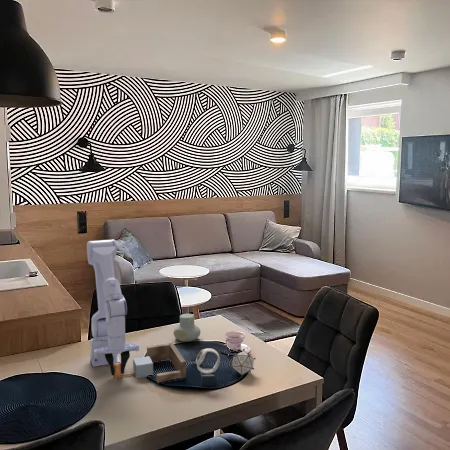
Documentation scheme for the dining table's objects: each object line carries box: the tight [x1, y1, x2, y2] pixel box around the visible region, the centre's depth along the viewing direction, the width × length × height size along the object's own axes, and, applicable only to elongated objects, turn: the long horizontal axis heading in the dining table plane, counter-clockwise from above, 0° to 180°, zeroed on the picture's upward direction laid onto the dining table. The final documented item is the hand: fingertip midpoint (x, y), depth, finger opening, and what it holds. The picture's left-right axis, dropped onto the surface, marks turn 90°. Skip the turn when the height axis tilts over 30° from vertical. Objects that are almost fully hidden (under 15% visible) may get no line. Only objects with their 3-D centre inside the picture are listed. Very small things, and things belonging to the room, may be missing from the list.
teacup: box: [224, 330, 251, 356], centre depth 180 cm, size 12×12×6 cm
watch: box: [195, 347, 221, 386], centre depth 154 cm, size 6×8×11 cm
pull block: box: [113, 355, 154, 380], centre depth 159 cm, size 13×6×4 cm, turn 111°
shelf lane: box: [146, 342, 187, 384], centre depth 163 cm, size 10×17×6 cm, turn 21°
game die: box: [229, 349, 256, 378], centre depth 160 cm, size 9×8×10 cm
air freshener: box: [173, 313, 201, 343], centre depth 191 cm, size 11×8×10 cm
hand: (117, 373), depth 157 cm, fingers closed on pull block, 3 cm apart
